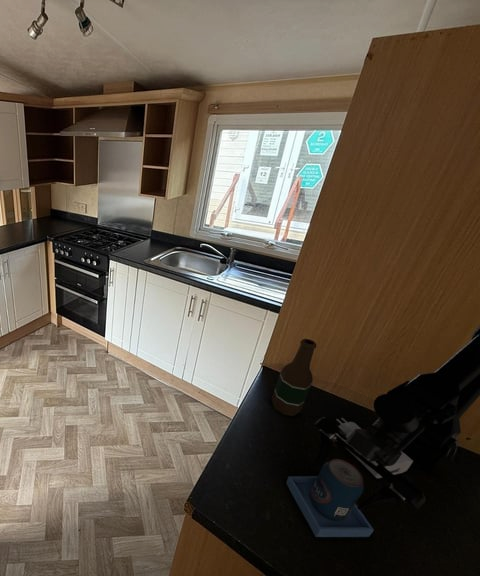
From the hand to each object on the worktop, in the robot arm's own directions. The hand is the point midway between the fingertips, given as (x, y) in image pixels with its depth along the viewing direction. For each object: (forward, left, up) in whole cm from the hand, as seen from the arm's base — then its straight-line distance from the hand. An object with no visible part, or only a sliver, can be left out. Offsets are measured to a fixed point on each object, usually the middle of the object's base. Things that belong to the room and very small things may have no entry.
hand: (334, 486), depth 65 cm
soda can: (-1, -1, -8) cm, 8 cm away
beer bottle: (+8, -29, -8) cm, 31 cm away
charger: (-10, -23, -8) cm, 26 cm away
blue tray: (0, -1, -8) cm, 8 cm away
